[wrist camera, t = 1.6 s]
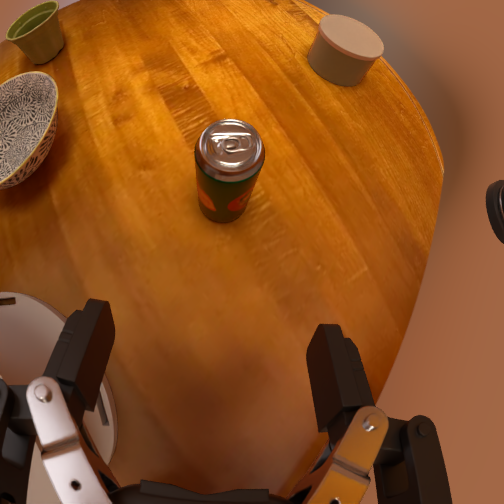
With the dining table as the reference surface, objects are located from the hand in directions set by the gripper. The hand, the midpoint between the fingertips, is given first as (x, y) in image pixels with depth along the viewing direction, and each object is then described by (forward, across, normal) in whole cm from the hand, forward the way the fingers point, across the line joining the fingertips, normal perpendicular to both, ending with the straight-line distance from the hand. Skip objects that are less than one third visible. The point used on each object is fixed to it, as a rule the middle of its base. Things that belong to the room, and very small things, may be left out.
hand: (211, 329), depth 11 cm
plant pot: (+38, +33, -12) cm, 52 cm away
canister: (+39, -14, -12) cm, 43 cm away
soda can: (+22, 0, +5) cm, 22 cm away
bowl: (+25, +26, +2) cm, 36 cm away
